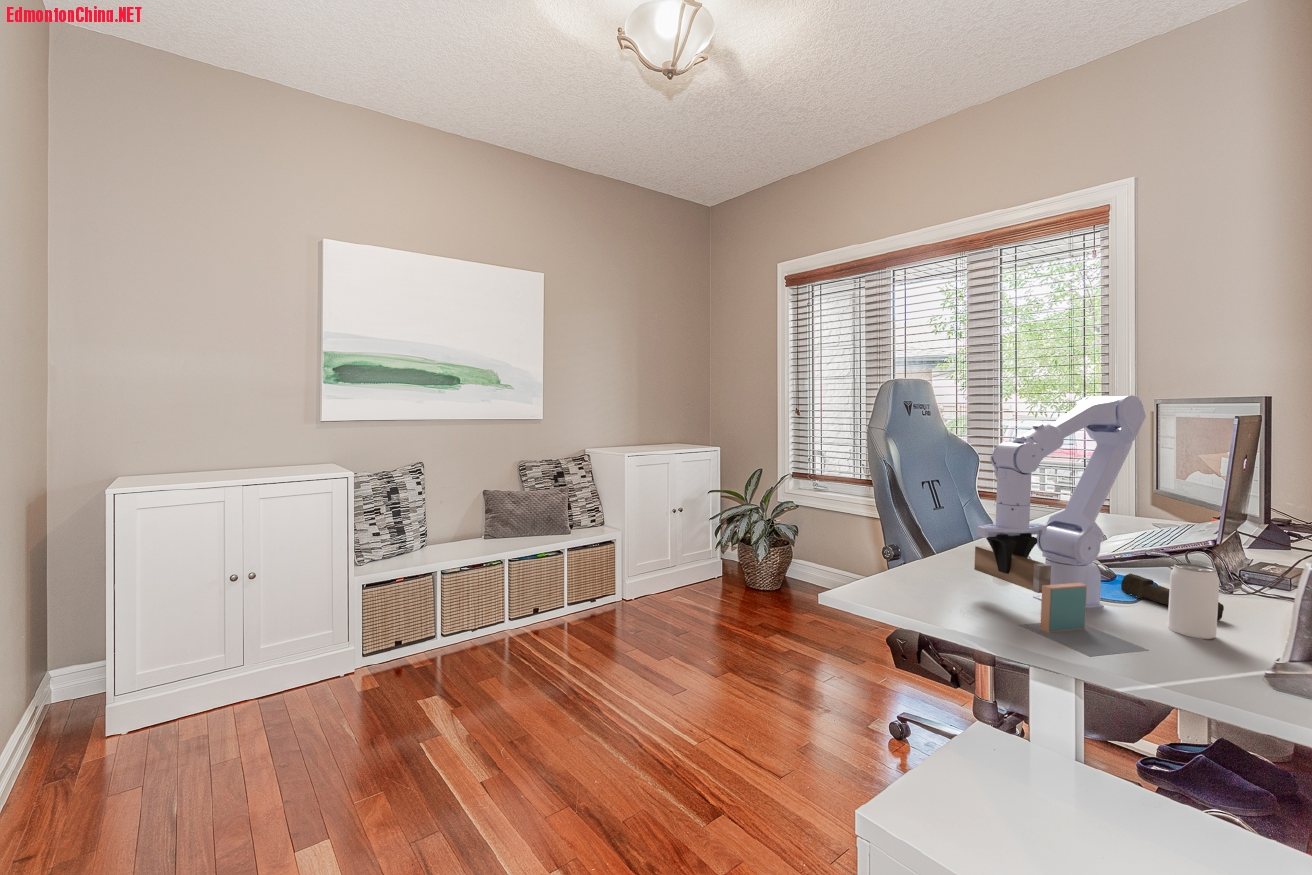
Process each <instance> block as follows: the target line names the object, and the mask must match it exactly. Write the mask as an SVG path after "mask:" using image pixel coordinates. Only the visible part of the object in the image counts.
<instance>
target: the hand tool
mask: <svg viewBox="0 0 1312 875" xmlns="http://www.w3.org/2000/svg"><path fill="white" fill-rule="evenodd" d="M1120 590H1121V591H1122V592H1123V591H1124V592H1123V593H1125V592H1126V593H1125V594H1127V593H1129V594H1132V595H1134V596H1133V597H1135V596H1137V597H1139V598H1141V599H1140V600H1148V601H1150V600H1151V601H1153V602H1154V601H1155V602H1157V603H1159V604H1163V605H1166V606H1169V590H1170V588H1168V587H1165V586H1162V585H1158V584H1156V583H1154V580H1153V579H1151V578H1146V577H1143V576H1141V575H1137V574H1133V573H1128V574H1126V575H1124V576H1123V578H1122V580H1121V584H1120ZM1129 594H1128V595H1129ZM1132 595H1131V596H1132ZM1137 597H1136V598H1137ZM1139 598H1138V599H1139ZM1224 608H1225V607H1224V604H1222V603H1221V602H1219V601H1218V615H1217V622H1218V621H1220V620H1221V619H1222V617H1223V613H1224Z"/></svg>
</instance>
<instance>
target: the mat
mask: <svg viewBox="0 0 1312 875" xmlns="http://www.w3.org/2000/svg"><path fill="white" fill-rule="evenodd" d="M1040 625H1041V622H1035V623H1023V624H1019V626H1020V627H1022V628H1024V629H1027V630H1028V631H1031V632H1034V633H1036V634H1037V635H1040V636H1043V637H1044V638H1047V639H1049V640H1051V641H1053V642H1056V643H1058V644H1061V645H1063V646H1065V647H1067V648H1069V649H1072V650H1073V651H1077V652H1079V653H1081V654H1083V655H1086V656H1087V657H1098V656H1101V657H1102V656H1109V655H1118V654H1119V655H1121V654H1127V653H1136V652H1137V653H1138V652H1144V651H1145V652H1146V651H1149V649H1148V648H1145V647H1142V646H1140V645H1137V644H1135V643H1133V642H1129V641H1127V640H1125V639H1122V638H1120V637H1117V636H1115V635H1112V634H1110V633H1107V632H1104V631H1102V630H1099V629H1096V628H1095V627H1091V626H1088V625H1086V624H1085V629H1082V630H1072V631H1061V632H1051V633H1047V632H1045V631H1043V630H1040Z"/></svg>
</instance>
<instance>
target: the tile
mask: <svg viewBox="0 0 1312 875" xmlns="http://www.w3.org/2000/svg"><path fill="white" fill-rule="evenodd" d="M1041 595H1042V601H1041V605H1040V606H1041V609H1040V623H1041V625H1040V630H1043V631H1045V632H1047V633H1051V632H1061V631H1072V630H1082V629H1085V625H1086V617H1087V616H1086V614H1087V613H1086V611H1087V608H1086V596H1087V585H1085V584H1081V583H1068V584H1054V585H1042V593H1041Z"/></svg>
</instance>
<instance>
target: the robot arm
mask: <svg viewBox="0 0 1312 875" xmlns="http://www.w3.org/2000/svg"><path fill="white" fill-rule="evenodd" d="M1145 419H1146V412H1145V408H1144V405H1143V402H1142V400H1141V399H1140V398H1139V397H1138V396H1136V395H1133V394H1131V395H1130V394H1129V395H1122V396H1121V395H1120V396H1119V395H1117V396H1116V395H1114V396H1112V395H1111V396H1109V395H1107V396H1106V395H1105V396H1104V395H1103V396H1100V395H1099V396H1097V395H1087V396H1085V397H1083V398H1082V399H1080V400H1078V401H1076V402H1075V407H1073V408H1072V409H1070V411H1068V412H1067V413H1065V414H1064V415H1062V416H1061V417H1059V418H1058V419H1057V420H1055V421H1054V422H1053V423H1051V424H1050V423H1035V424H1034V425H1032V429H1030V430H1028V431H1027V432H1025V433H1023V434H1022V435H1017V436H1015V439H1014V440H1012V441H1011V442H1009V441H1008V442H1007V441H1004V442H1001V443H1000V444H998V445H997V446H996V447H995V448H994V449H993V452H992V455H990V462H991V464H992V465H991V466H993V468H994V477H995V478H996V479H997V480H996V499H995V500H996V502H995V503H996V506H995V521H993V523H991V524H985V525H977V527H976V536H977V537H979V538H984V539H986V540H987V542H988V544H989V547H991V548H992V550H993V552H994V555H995V559H996V562H997V567H998V571H1000V572H1003V573H1006V574H1008V573H1009V572H1010V567H1011V557H1012V554H1015V555H1018V556H1021V557H1025V558H1028V559H1029V555H1030V553H1031V551H1032V550H1033V549H1034V547H1035V546H1036V545H1037V548H1038V549H1039V551H1041V553H1042V555H1041V556H1042V557H1043V558H1045V562H1044V564H1049V565H1051V582H1050V585H1054V584H1068V583H1081V584H1085V585H1087V596H1086V609H1091V608H1102V607H1103V608H1104V606H1105V605H1104V604H1102V603H1101V585H1102V573H1101V571H1100V568H1099V567H1098V565H1097V563H1094V561H1095V560H1096V559H1097V558H1098V557H1099V555H1100V552H1101V543H1102V539H1103V537H1104V535H1105V534H1104V532H1103V531H1102V530H1103V529H1101V527H1100V526H1099V525H1098V524H1097V523H1096V520H1097V518H1098V516H1099V515H1100V513H1101V509H1102V508H1103V505H1104V504H1105V502H1106V499H1107V497H1108V495H1109V494H1110V492H1111V490H1112V488H1113V485H1114V483H1115V482H1116V479H1117V477H1118V475H1119V473H1120V471H1121V469H1122V468H1123V465H1124V463H1125V461H1126V459H1127V457H1128V455H1129V453H1130V451H1131V448H1132V446H1133V443H1134V441H1135V440H1136V437H1137V435H1138V433H1139V432H1140V429H1141V427H1142V425H1143V423H1144V421H1145ZM1083 429H1084V430H1085V431H1086V433H1087V435H1088V436H1089V438H1090V439H1091V440H1093V441H1094V442H1095V443H1096V447H1095V448H1094V450H1093V452H1092V455H1091V456H1090V459H1089V461H1088V462H1087V464H1086V467H1085V469H1084V471H1083V473H1082V475H1081V476H1080V478H1079V481H1078V482H1077V485H1076V487H1075V488H1074V491H1073V492H1072V494H1071V497H1070V499H1069V500H1068V503H1067V505H1066V506H1065V508H1064V510H1062V511H1060V512H1057V513H1055V514H1053V515H1051V516H1049V518H1048V520H1047V521H1046V523H1045V524H1042V523H1030V515H1031V494H1032V493H1031V492H1032V491H1031V490H1032V473H1035V472H1036V471H1037V469H1038V468H1039V466H1040V463H1041V462H1042V461H1043V460H1044V459H1045V458H1046V457H1047V456H1049V455H1051V454H1052V453H1054V452H1055V451H1057V450H1059V449H1060V448H1062V447H1063V444H1064V439H1065V438H1067V437H1069V436H1071V435H1073V434H1075V433H1077V432H1079V431H1081V430H1083ZM1034 535H1036V537H1035V536H1034ZM1032 598H1034V599H1037V600H1039V601H1041V602H1042V594H1040V595H1038V594H1036V595H1033V597H1032Z"/></svg>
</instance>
